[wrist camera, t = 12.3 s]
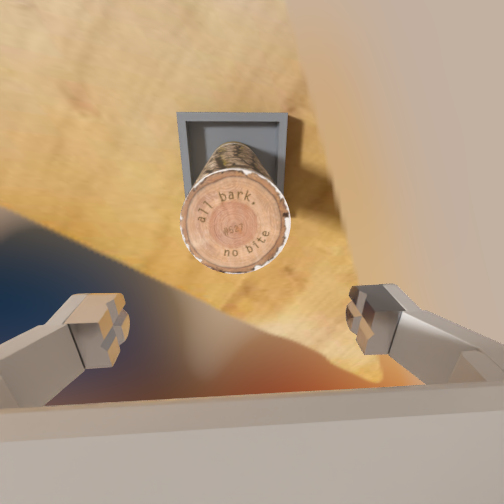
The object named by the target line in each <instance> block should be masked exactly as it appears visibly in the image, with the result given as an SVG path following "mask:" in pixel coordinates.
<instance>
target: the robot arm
mask: <svg viewBox="0 0 504 504" xmlns="http://www.w3.org/2000/svg"><path fill="white" fill-rule="evenodd" d="M349 297H350V298H351V300H352V301H351V302H350V303H349V304H348V305H347V308H346V321H347V324H348V327H349V329H350V330H351V331H352V332H353V333H355V334H356V335H357V338H356V341H357V343H358V345H359V346H360V348H361V350H362V352H363V353H364V355H376V354H389V356H390V357H392V358H393V359H394V360H395V361H397V362H398V363H399V364H401V365H402V366H403V367H404V368H406V369H407V370H409V371H410V372H411V373H412V374H413V375H415V376H416V377H418V378H419V379H420V380H421V381H423V382H424V383H425V384H426V385H415V386H414V385H413V386H397V387H381V388H362V389H343V390H325V391H305V392H287V393H269V394H252V395H234V396H217V397H199V398H182V399H166V400H165V399H164V400H147V401H128V402H111V403H93V404H77V405H76V404H75V405H58V406H44V405H45V404H46V403H47V402H48V401H50V400H51V399H52V398H53V397H54V396H55V395H57V394H58V393H59V392H60V391H61V390H62V389H64V388H65V387H66V386H67V385H68V384H69V383H71V382H72V381H73V380H74V379H75V378H76V377H78V376H79V375H80V374H81V373H82V372H83V371H85V369H91V368H103V367H112V366H113V365H114V362H115V360H116V358H117V356H118V354H119V352H120V348H119V345H120V344H121V343H123V342H124V341H125V340H126V338H127V335H128V333H129V327H130V322H129V315H128V313H127V312H126V311H124V310H123V309H122V308H123V307H124V305H125V300H124V297H123V295H122V294H121V293H93V294H92V293H91V294H89V293H87V294H74V295H72V296H71V297H70V298H69V299H68V300H67V301H66V302H65V304H63V305H62V307H61V308H60V309H59V310H58V311H57V312H56V313H55V314H54V315H53V316H52V317H51V318H50V319H49V321H48V322H47V323H46V324H45V325H39V326H37V327H35V328H33V329H31V330H29V331H27V332H25V333H23V334H21V335H19V336H17V337H15V338H13V339H11V340H9V341H7V342H5V343H3V344H1V345H0V504H504V345H503V344H501V343H499V342H496V341H494V340H492V339H490V338H487V337H485V336H483V335H481V334H478V333H476V332H474V331H472V330H470V329H467V328H465V327H463V326H461V325H458V324H456V323H454V322H451V321H449V320H447V319H445V318H443V317H440V316H438V315H436V314H434V313H431V312H429V311H426V310H421V309H420V308H419V307H418V306H417V305H416V304H415V303H414V302H413V301H412V300H411V299H410V298H409V297H408V296H407V295H406V294H405V293H404V292H403V291H402V290H401V289H400V288H399V287H398V286H397V285H395V284H379V285H362V286H352V287H351V289H350V293H349Z"/></svg>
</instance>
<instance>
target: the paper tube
mask: <svg viewBox="0 0 504 504" xmlns="http://www.w3.org/2000/svg"><path fill="white" fill-rule="evenodd" d="M290 224H291V221H290V212H289V208H288V205H287V202H286V200H285V198H284V196H283V194H282V192H281V191H280V189H279V188H278V187H277V185H276V184H275V182H274V181H273V179H272V178H271V177H270V175H269V174H268V172H267V171H266V169H265V168H264V167H263V165H262V164H261V162H260V161H259V159H258V158H257V157H256V155H255V154H254V152H253V151H252V150H251V149H250V148H249V147H248V146H247V145H245V144H243V143H240V142H236V141H231V142H226V143H224V144H222V145H220V146H219V147H218V148H217V149H216V150H215V151H214V153H213V154H212V156H211V157H210V159H209V161H208V162H207V164H206V165H205V167H204V169H203V170H202V172H201V173H200V175H199V177H198V178H197V180H196V181H195V183H194V185H193V186H192V188H191V190H190V191H189V193H188V194H187V196H186V198H185V201H184V203H183V206H182V210H181V215H180V228H181V233H182V237H183V240H184V242H185V244H186V246H187V248H188V249H189V251H190V252H191V253H192V255H193V256H194V257H195V258H196V259H197V260H198V261H200V262H201V263H202V264H204V265H205V266H207V267H209V268H211V269H213V270H216V271H219V272H223V273H229V274H242V273H248V272H252V271H255V270H258V269H260V268H262V267H264V266H265V265H267V264H269V263H270V262H271V261H272V260H273V259H275V258H276V257H277V255H278V254H279V253H280V252H281V250H282V249H283V247H284V246H285V244H286V241H287V239H288V236H289V232H290Z"/></svg>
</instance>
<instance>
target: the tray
mask: <svg viewBox="0 0 504 504" xmlns="http://www.w3.org/2000/svg"><path fill="white" fill-rule="evenodd" d="M176 113H177V123H178V132H179V142H180V151H181V160H182V170H183V179H184V189H185V198H186V196H187V194H188V193H189V191H190V190H191V188H192V186H193V185H194V183H195V181H196V180H197V178H198V177H199V175H200V173H201V172H202V170H203V169H204V167H205V165H206V164H207V162H208V161H209V159H210V157H211V156H212V154H213V153H214V151H215V150H216V149H217V148H218V147H219V146H220V145H222V144H224V143H226V142H231V141H236V142H240V143H243V144H245V145H247V146H248V147H249V148H250V149H251V150H252V151H253V152H254V154H255V155H256V157H257V158H258V159H259V161H260V162H261V164H262V165H263V167H264V168H265V169H266V171H267V172H268V174H269V175H270V177H271V178H272V179H273V181H274V182H275V184H276V185H277V187H278V188H279V189H280V191H281V192H282V194H283V193H284V175H285V157H286V139H287V120H288V113H232V112H176Z"/></svg>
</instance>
